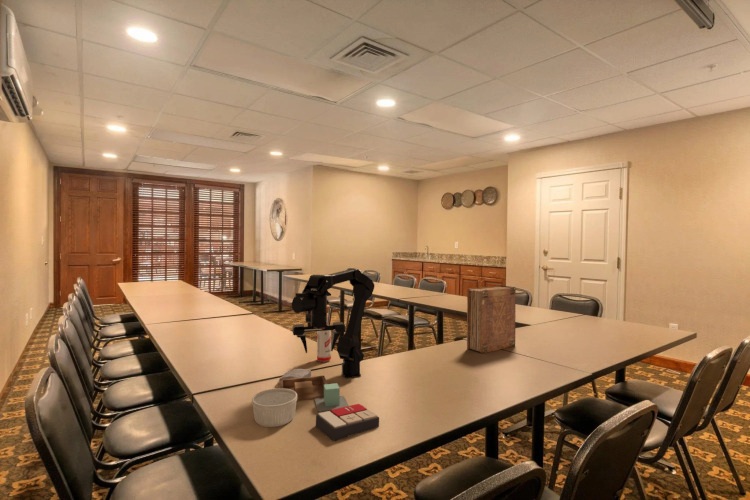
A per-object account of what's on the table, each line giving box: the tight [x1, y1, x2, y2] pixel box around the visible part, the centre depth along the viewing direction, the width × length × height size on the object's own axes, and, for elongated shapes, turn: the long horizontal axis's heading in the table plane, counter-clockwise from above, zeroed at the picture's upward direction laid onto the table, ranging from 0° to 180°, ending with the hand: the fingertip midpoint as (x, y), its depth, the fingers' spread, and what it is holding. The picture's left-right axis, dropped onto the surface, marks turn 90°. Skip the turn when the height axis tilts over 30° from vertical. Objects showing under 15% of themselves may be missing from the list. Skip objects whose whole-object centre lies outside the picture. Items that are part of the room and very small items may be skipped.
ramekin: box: [251, 387, 298, 428], centre depth 117 cm, size 13×13×7 cm
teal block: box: [324, 382, 341, 407], centre depth 128 cm, size 4×4×6 cm
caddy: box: [279, 375, 328, 402], centre depth 137 cm, size 16×12×4 cm
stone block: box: [278, 368, 312, 384], centre depth 149 cm, size 12×5×10 cm
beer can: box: [316, 323, 332, 363], centre depth 175 cm, size 6×6×16 cm
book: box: [466, 285, 517, 354], centre depth 195 cm, size 25×9×30 cm, turn 123°
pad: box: [314, 395, 350, 413], centre depth 128 cm, size 10×10×1 cm
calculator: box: [315, 403, 380, 442], centre depth 112 cm, size 11×4×15 cm
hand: (319, 351), depth 142 cm, fingers open, 9 cm apart
